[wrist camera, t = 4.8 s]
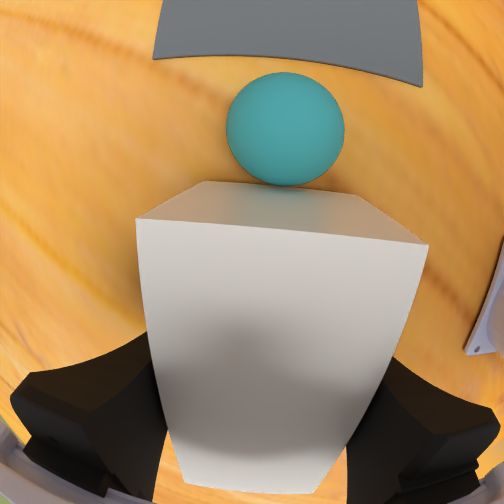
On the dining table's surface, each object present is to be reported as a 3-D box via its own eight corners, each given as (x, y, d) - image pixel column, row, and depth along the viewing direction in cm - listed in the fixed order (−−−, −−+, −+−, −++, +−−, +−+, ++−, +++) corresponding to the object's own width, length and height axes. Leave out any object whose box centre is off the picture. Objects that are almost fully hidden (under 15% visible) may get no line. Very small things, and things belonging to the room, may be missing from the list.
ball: (329, 168, 12) (338, 77, 9) (345, 212, 9) (364, 82, 6) (236, 160, 12) (236, 70, 10) (215, 201, 9) (212, 71, 6)
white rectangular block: (356, 195, 10) (429, 245, 5) (307, 408, 14) (312, 493, 9) (203, 180, 10) (135, 218, 5) (206, 399, 15) (184, 482, 9)
